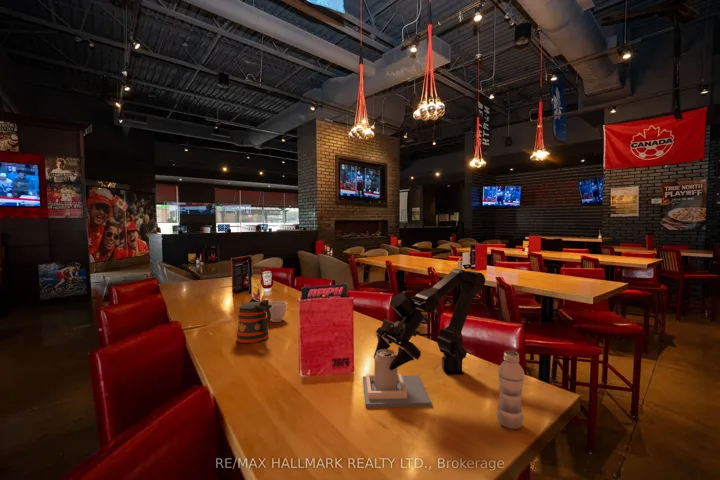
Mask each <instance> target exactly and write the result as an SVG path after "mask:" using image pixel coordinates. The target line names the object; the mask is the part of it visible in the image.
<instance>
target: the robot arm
mask: <svg viewBox="0 0 720 480" xmlns="http://www.w3.org/2000/svg"><path fill="white" fill-rule="evenodd" d="M485 283H486V276H485V274H483V273H482V272H477V271H474V270H473V271H472V270H465V269H462V268H452V269H451V271H450V272H449V273H448V274H447V275H445V276H444V277H443V278H442V279H440V280H439V281H438V282H437V283H436V284H434V285H433V286H432V287H429V288H428V289H424V290H422V291H419V292H418V293H417V294H415V296H410V294H409V293H408V292H407V291H404V290H402V291H401V293H397V294H396V295H395V296H393V297H391V300H390V303H389V304H390V306H391V308H392V309H393V310H394V311H395V312H396V313H397V314H398V315H399V316H400V317H401V318H403V319H402V320H397V321H395V322H393V321H391V320H388V319H385V318H384V319H383V320H382V324H381V326H380V327H378V328H377V329H376V331H375V333H376V337H377V345H376V349H375V352H374V354H373V359H374V360H375V355H376V354H377V353H376V352H377V351H378V350H381V349H390V347H391V344H395V345H397V346H398V347H397V348H398V350H397V353H396V357H395V359H394V360H393V362H392V364H391V365H390V367H389V369H390V370H391V371H392V370H394V369H395V368H397V369H398V368H399V367H400V366H402V365H405V364H406V363H409V362H412V361H415V360H416V361H419V359H420V357H421V355H422V352H421V350H420V349H419V348H418V347H417V346H416V345H415V344H414V343H413V342H411V341H410V340H411V339H412V337H415V338H416V337H417V335H418V334H417V333H416V332H417V330H418V329H419V328H420V326H421V324H422V323H423V322H424V323H426V324H428V323H429V319H428V314H426V313H433V312H435V310H436V309H437V308H438V307H439V305H440V304H441V300H442V299H443V297H445V296H446V295H447V294H448V293H449V292H450V291H451V290H452V289H454V288H455V287H456V286H457V285H459V284H460V290H461V292H460V295H459V297H458V299H457V302H456V305H455V308H454V311H453V313H452V315H451V318H450V320H449V323H448V326H447V327H445V328H443V327H442V328H441V329H440V330H439V334H438V336H437V337H436V338H437V342H436V344H437V345H438V349H439V352H440V353H443V354H442V355H443V356H442V357H441V369H442V370H443V371H444V374H446V375H447V376H449V375H450V376H451V375H464V374H465V373H464V371H463V360H464V359H465V358H466V357H467V353H468V351H467V349H465V347H463V342H464V339H463V328H464V326H465V322H466V321H467V318H468V314H469V312H470V309H471V308H472V307H471V306H472V303H473V301H474V299H475V297H476V295H478V294H479V293H480V292H481V291H482V290H483V287H484V286H485ZM423 312H426V313H423Z"/></svg>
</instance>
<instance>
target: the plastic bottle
mask: <svg viewBox="0 0 720 480" xmlns="http://www.w3.org/2000/svg"><path fill="white" fill-rule="evenodd" d="M503 360H504V361H502V363H501V364H500V365H499V366H498V369H497V374H498V382H499V383H498V384H499V396H498V403H497V404H498V405H497V408H496V414H495V415H496V419H497V421H498V422H499V424H500V425H501V426H502V427H504V428H506V429H509V430H511V429H512V430H516V429H517V430H518V429H520V428H521V427H522V426H523V421H524V414H523V408H522V394H523V387H524V383H525V382H524V381H525V375H526V374H525V371H524V369H523V368H522V366H521V365H520V354H519V353H518V352H516V351H512V350H506V351H504V352H503Z"/></svg>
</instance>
